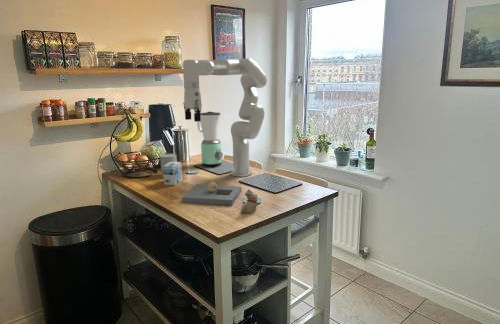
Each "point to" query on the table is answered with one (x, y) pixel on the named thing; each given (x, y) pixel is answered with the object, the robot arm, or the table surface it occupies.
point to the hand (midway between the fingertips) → (192, 120)
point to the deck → (212, 195)
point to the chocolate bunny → (249, 202)
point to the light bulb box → (172, 173)
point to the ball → (211, 186)
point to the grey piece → (167, 160)
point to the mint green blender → (210, 138)
